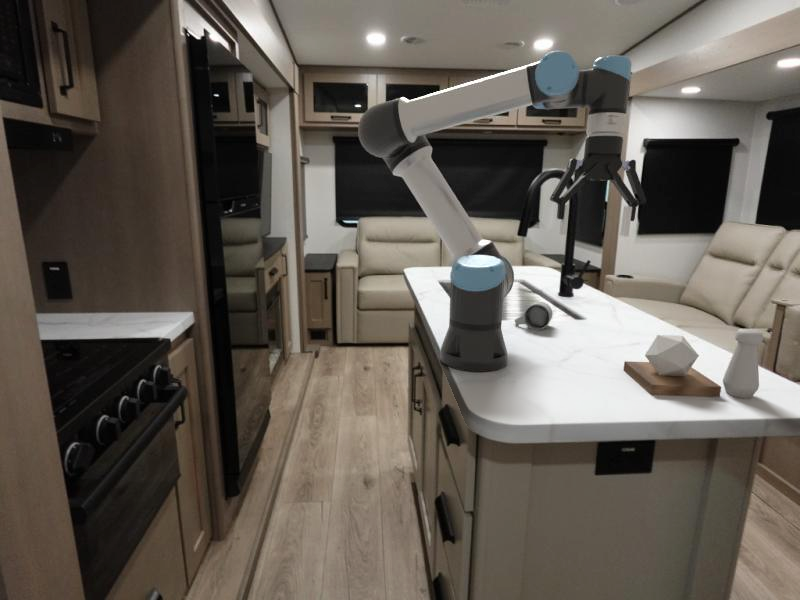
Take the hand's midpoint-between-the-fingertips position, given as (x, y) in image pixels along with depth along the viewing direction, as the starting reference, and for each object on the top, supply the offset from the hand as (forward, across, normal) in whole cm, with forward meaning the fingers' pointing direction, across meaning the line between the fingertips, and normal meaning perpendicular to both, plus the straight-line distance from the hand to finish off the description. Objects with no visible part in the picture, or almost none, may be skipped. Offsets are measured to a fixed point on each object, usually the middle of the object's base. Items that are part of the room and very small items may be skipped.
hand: (593, 235), depth 109 cm
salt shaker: (+28, +24, -20) cm, 43 cm away
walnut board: (+28, +13, -16) cm, 35 cm away
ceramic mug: (+29, -6, +25) cm, 38 cm away
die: (+27, +13, -16) cm, 33 cm away
